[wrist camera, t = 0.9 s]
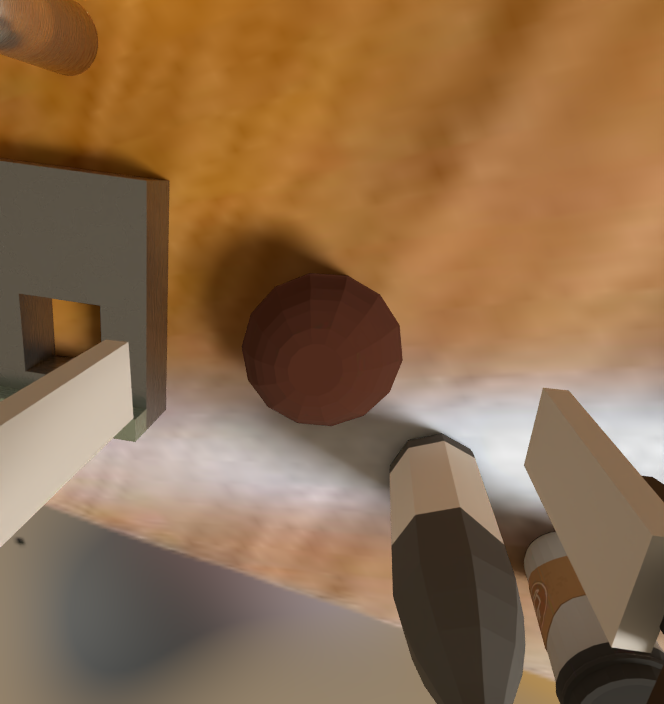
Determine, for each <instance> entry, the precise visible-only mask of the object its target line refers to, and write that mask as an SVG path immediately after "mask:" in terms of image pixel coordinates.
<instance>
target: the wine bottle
mask: <svg viewBox="0 0 664 704" xmlns="http://www.w3.org/2000/svg"><path fill="white" fill-rule="evenodd" d="M390 507H391V542H392V576H393V597H394V601H395V604H396V607H397V611H398V614H399V618H400V621H401V624H402V628H403V631H404V634H405V638H406V640H407V644H408V647H409V651H410V654H411V657H412V660H413V662H414V665H415V666H416V669H417V671H418V673H419V675H420V677H421V680H422V682H423V684H424V686H425V687H426V689H427V690H428V692H429V693H430V695H431V696H432V697H433V699H434V700H435V702H436V703H437V704H513V701H514V698H515V696H516V692H517V689H518V686H519V683H520V680H521V677H522V672H523V663H524V654H525V630H524V616H523V612H522V607H521V602H520V597H519V592H518V588H517V583H516V578H515V575H514V572H513V569H512V566H511V563H510V560H509V557H508V554H507V551H506V548H505V545H504V543H503V540H502V537H501V534H500V531H499V528H498V525H497V522H496V519H495V516H494V513H493V510H492V507H491V504H490V501H489V498H488V495H487V492H486V489H485V487H484V484H483V481H482V478H481V475H480V472H479V469H478V466H477V463H476V460H475V457H474V455H473V453H472V451H471V450H470V449H469V448H467V447H465V446H463V445H461V444H460V443H458V442H456V441H454V440H453V439H451V438H449V437H447V436H445V435H444V434H437V435H432V436H427V437H422V438H417V439H412V440H408V441H407V443H406V444H405V445H404V447H403V448H402V450H401V451H400V453H399V454H398V455H397V457H396V458H395V460H394V461H393V462H392V464H391V465H390Z"/></svg>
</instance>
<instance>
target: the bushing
mask: <svg viewBox="0 0 664 704" xmlns="http://www.w3.org/2000/svg"><path fill="white" fill-rule="evenodd" d="M97 48H98V37H97V31H96V28H95V25H94V23H93V20H92V19H91V17H90V15H89V14H88V12H87V11H86V10H85V9H84V8H83V7H82V6H81V5H80V4H78V3H77V2H75V1H74V0H0V54H2V55H5V56H8V57H11V58H14V59H17V60H20V61H23V62H26V63H29V64H32V65H35V66H38V67H41V68H44V69H47V70H50V71H53V72H56V73H59V74H62V75H66V76H74V75H78V74H81V73H83V72H84V71H86V70H87V69H88V68H89V67H90V66H91V64H92V63H93V61H94V59H95V57H96V53H97Z"/></svg>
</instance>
